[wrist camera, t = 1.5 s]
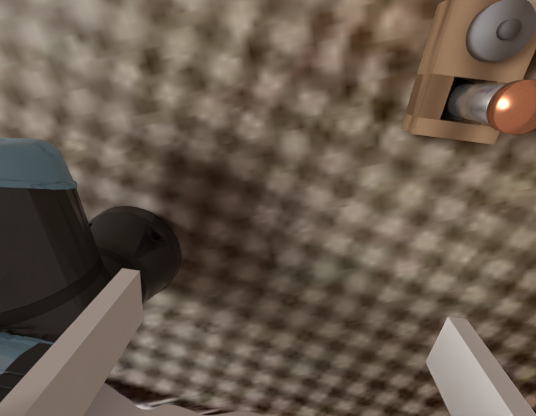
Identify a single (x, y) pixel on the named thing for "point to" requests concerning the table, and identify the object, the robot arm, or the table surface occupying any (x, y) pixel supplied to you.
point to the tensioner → (469, 61)
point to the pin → (495, 105)
